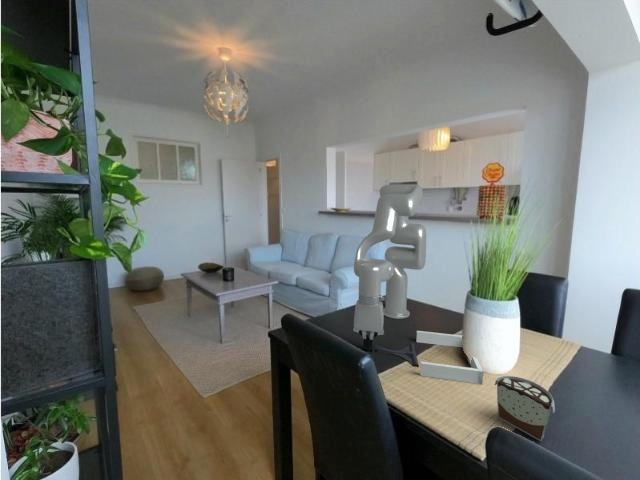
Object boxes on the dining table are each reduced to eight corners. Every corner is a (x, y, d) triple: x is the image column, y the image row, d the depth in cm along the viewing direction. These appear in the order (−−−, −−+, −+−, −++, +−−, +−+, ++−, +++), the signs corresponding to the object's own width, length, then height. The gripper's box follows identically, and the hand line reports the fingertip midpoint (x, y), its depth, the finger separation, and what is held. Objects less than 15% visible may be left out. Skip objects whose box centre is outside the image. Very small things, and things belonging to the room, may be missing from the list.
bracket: (372, 343, 115) (373, 336, 114) (413, 347, 112) (414, 340, 112) (371, 364, 101) (372, 356, 100) (418, 369, 98) (419, 361, 98)
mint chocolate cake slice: (559, 433, 71) (564, 394, 69) (549, 446, 67) (554, 405, 66) (503, 404, 81) (506, 369, 79) (491, 413, 77) (495, 377, 76)
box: (416, 340, 116) (416, 330, 115) (465, 346, 111) (466, 336, 111) (420, 375, 93) (421, 363, 93) (482, 384, 89) (483, 371, 88)
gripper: (391, 297, 108) (389, 346, 110) (349, 293, 111) (348, 340, 114) (391, 304, 100) (389, 356, 103) (346, 300, 104) (345, 350, 107)
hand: (367, 348), depth 109 cm, fingers closed
